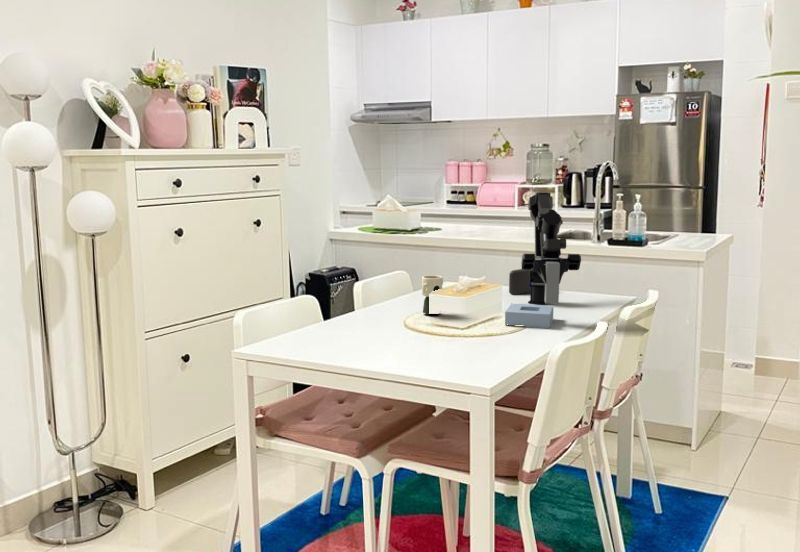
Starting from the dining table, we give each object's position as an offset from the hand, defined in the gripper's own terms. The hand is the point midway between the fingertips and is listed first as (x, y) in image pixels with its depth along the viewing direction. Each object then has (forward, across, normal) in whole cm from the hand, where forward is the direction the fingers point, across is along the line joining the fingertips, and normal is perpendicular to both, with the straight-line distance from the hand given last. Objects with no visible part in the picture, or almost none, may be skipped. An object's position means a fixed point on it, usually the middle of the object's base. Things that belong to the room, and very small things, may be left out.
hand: (552, 283), depth 261 cm
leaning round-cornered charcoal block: (-29, -4, +49) cm, 57 cm away
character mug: (+1, -39, +18) cm, 43 cm away
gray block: (+4, 0, +6) cm, 7 cm away
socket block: (+8, -7, +11) cm, 15 cm away
